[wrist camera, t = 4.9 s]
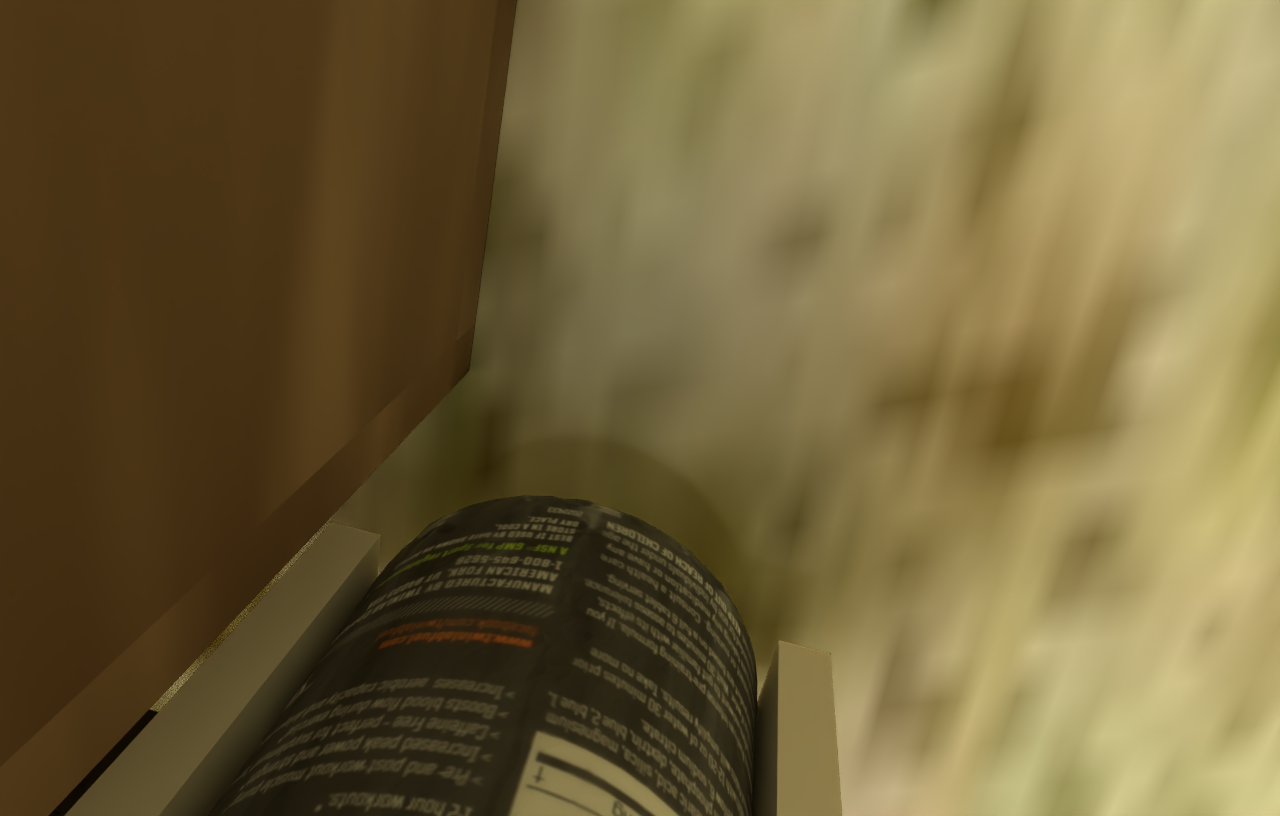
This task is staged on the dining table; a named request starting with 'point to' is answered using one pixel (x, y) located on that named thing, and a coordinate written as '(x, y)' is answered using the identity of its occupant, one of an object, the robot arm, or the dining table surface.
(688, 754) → the pill bottle
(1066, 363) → the dining table surface
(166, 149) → the deposit box
